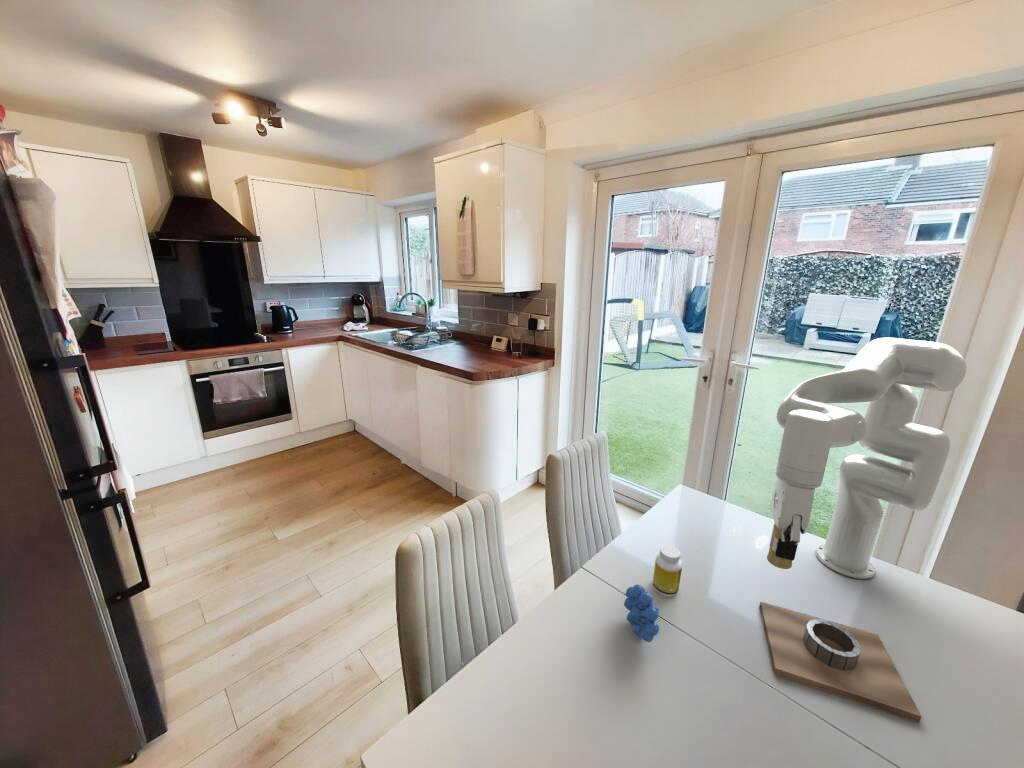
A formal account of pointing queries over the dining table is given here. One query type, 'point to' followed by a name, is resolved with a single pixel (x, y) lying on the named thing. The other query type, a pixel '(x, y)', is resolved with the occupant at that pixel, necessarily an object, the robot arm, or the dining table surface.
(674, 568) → the pill bottle
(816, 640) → the collar
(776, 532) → the sprinkles bottle
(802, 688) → the dining table surface
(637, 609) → the grapes
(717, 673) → the dining table surface
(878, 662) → the socket board
